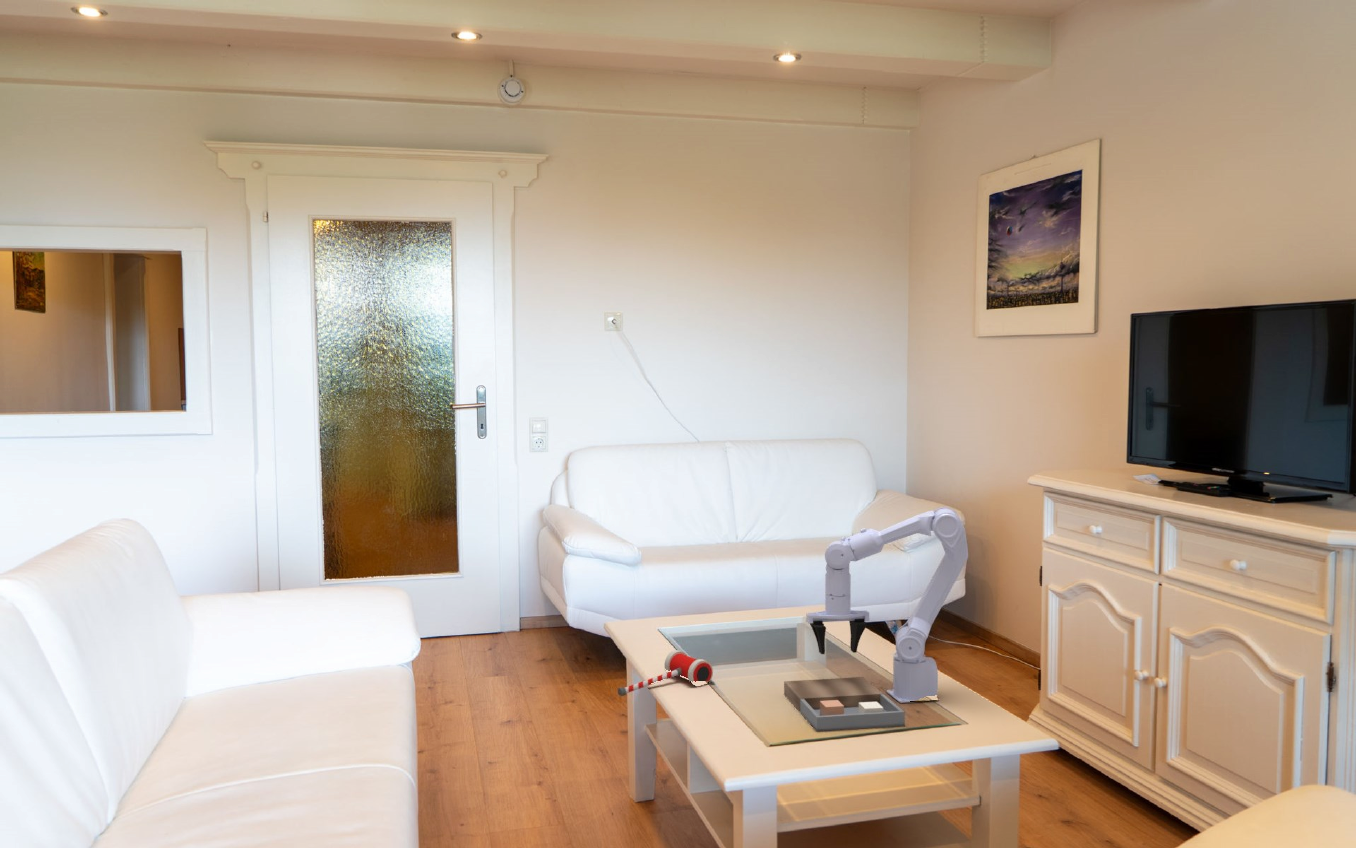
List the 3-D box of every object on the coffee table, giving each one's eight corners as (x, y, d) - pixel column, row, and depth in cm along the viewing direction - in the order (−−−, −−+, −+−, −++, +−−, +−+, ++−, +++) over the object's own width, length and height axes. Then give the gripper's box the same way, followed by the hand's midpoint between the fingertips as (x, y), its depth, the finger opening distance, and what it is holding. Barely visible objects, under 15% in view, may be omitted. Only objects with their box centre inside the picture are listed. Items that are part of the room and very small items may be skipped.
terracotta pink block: (843, 706, 203) (843, 720, 204) (837, 700, 207) (837, 713, 207) (825, 707, 203) (825, 721, 203) (819, 701, 207) (819, 714, 207)
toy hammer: (633, 703, 217) (633, 675, 217) (606, 690, 227) (606, 663, 226) (713, 685, 230) (713, 658, 230) (684, 673, 240) (684, 648, 240)
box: (883, 707, 213) (883, 694, 213) (904, 726, 201) (904, 712, 201) (800, 712, 210) (800, 699, 209) (816, 731, 198) (816, 717, 198)
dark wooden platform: (862, 689, 225) (862, 677, 225) (883, 707, 213) (883, 693, 213) (784, 694, 222) (784, 681, 222) (799, 712, 210) (799, 698, 210)
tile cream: (883, 707, 202) (883, 722, 202) (876, 701, 206) (876, 715, 206) (864, 708, 202) (864, 723, 202) (858, 702, 206) (858, 716, 206)
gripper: (861, 589, 228) (861, 646, 228) (802, 591, 225) (802, 649, 226) (872, 595, 221) (872, 654, 221) (811, 598, 218) (811, 657, 219)
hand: (837, 652), depth 223 cm, fingers open, 7 cm apart
